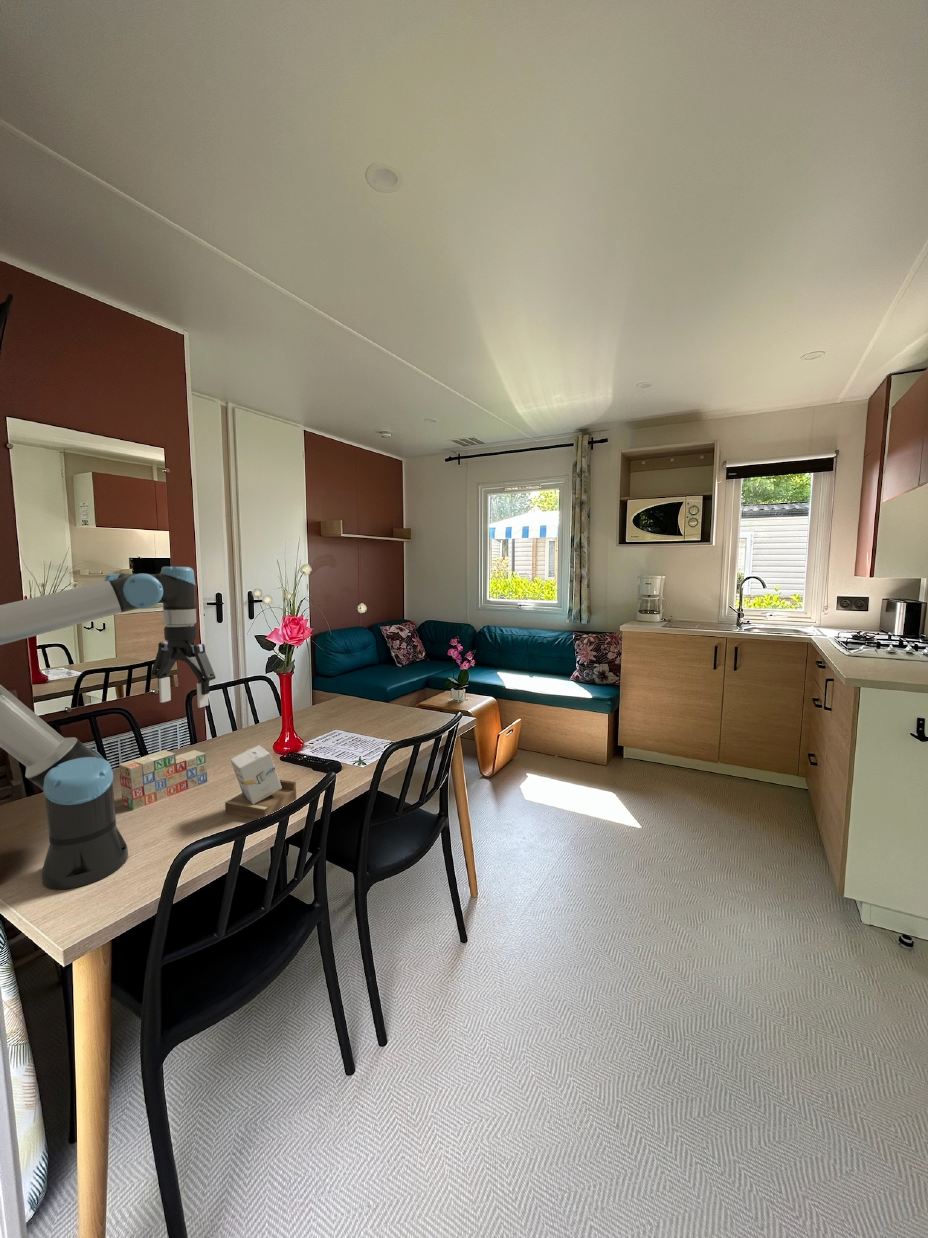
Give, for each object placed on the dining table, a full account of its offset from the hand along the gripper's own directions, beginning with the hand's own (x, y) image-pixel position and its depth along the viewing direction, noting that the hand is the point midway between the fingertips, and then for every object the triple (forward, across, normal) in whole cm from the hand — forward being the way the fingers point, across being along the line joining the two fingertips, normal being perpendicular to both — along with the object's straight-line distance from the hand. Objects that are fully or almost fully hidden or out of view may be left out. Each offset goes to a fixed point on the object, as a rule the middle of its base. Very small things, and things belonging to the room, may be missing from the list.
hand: (183, 704), depth 131 cm
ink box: (+26, -17, -10) cm, 32 cm away
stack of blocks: (+31, +16, -7) cm, 35 cm away
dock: (+30, -16, -10) cm, 35 cm away
